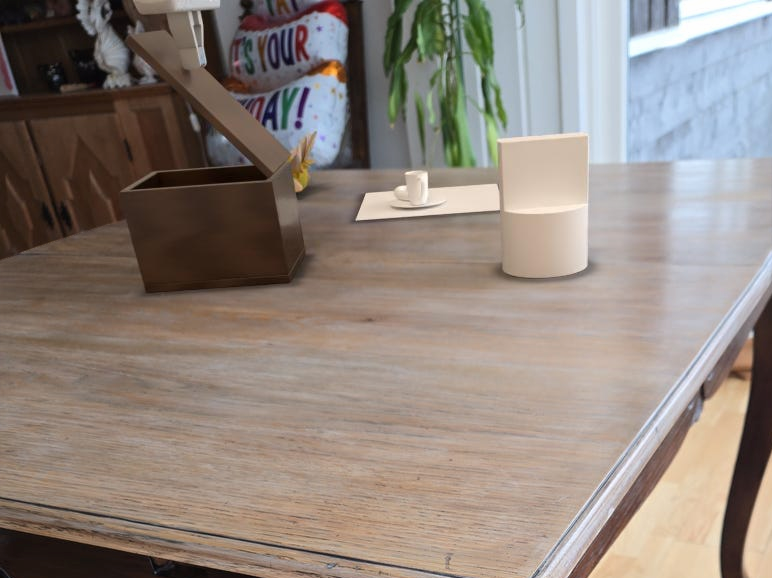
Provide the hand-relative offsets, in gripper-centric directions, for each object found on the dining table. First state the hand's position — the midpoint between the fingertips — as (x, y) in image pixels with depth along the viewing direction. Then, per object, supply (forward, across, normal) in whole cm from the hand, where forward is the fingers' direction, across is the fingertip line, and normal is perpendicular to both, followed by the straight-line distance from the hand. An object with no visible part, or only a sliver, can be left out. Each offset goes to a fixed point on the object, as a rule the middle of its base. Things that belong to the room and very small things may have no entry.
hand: (195, 68), depth 89 cm
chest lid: (+3, 0, +1) cm, 3 cm away
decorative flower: (+20, -49, -2) cm, 53 cm away
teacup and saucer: (+20, -34, +21) cm, 45 cm away
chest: (+19, 0, -1) cm, 19 cm away
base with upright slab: (+20, +7, +34) cm, 40 cm away
